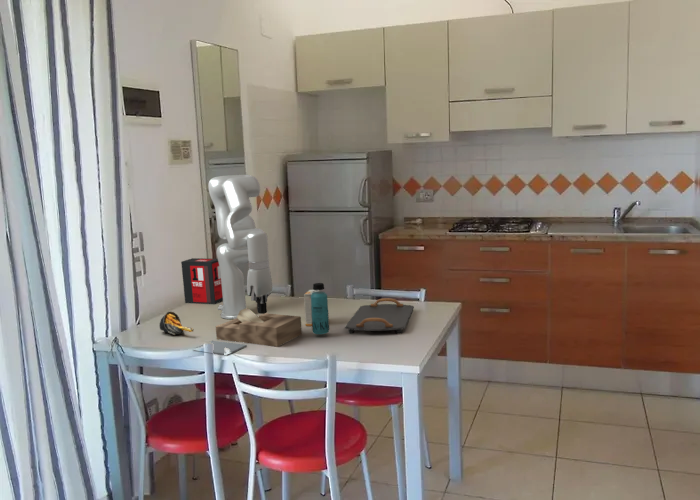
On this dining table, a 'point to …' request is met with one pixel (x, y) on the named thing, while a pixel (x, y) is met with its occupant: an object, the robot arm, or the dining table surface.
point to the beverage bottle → (319, 310)
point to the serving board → (381, 317)
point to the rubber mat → (221, 345)
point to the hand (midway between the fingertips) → (262, 312)
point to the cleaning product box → (202, 281)
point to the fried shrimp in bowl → (172, 324)
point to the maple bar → (248, 316)
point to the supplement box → (308, 306)
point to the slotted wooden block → (262, 330)
